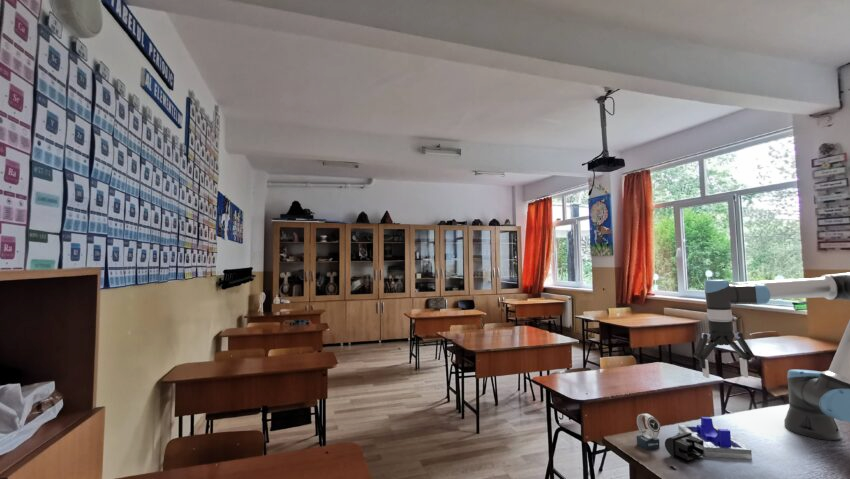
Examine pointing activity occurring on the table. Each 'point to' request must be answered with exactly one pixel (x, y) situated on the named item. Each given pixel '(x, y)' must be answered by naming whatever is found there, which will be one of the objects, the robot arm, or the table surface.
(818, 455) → the table surface
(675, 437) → the end cap
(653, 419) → the watch
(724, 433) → the cable clip
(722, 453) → the grey tray
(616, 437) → the table surface
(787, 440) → the table surface
